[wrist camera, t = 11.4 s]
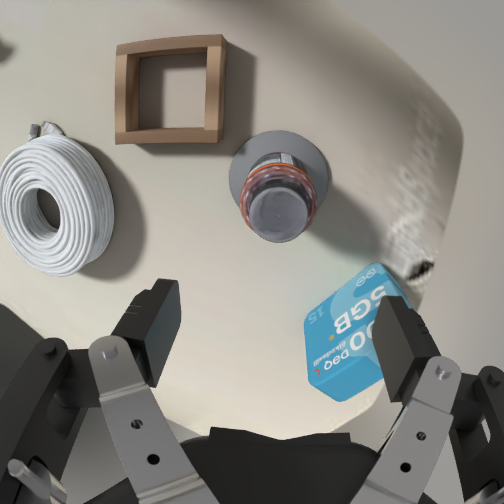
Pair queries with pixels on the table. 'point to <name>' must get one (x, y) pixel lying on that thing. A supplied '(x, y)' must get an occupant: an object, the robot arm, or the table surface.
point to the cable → (67, 197)
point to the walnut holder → (129, 89)
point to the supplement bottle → (278, 198)
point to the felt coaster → (278, 143)
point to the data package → (348, 335)
